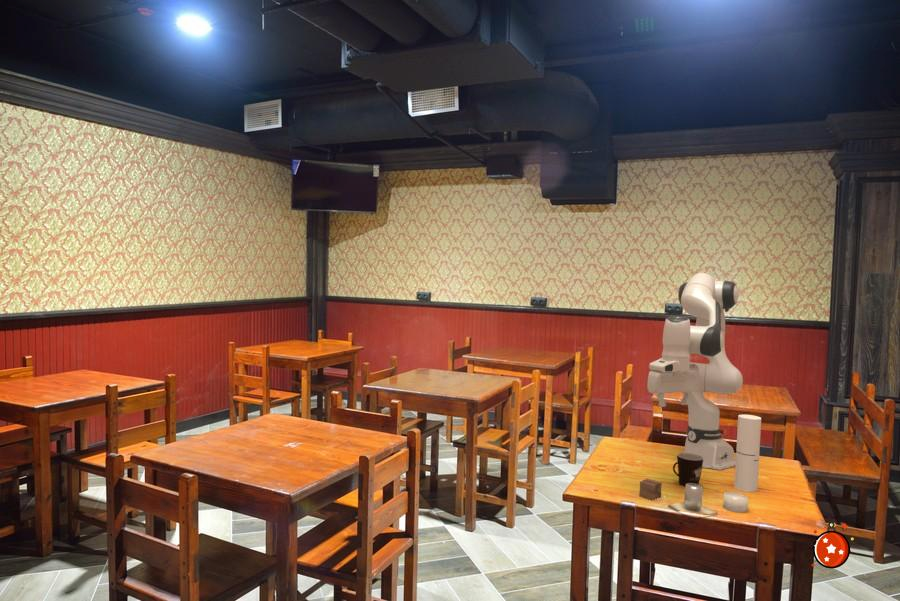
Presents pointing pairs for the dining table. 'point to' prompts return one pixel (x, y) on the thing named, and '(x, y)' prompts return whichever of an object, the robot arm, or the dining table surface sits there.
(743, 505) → the white rounded block
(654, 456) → the dining table surface
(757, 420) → the cylindrical container
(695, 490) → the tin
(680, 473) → the coffee mug
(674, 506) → the wavy beige sheet
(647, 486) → the walnut block
